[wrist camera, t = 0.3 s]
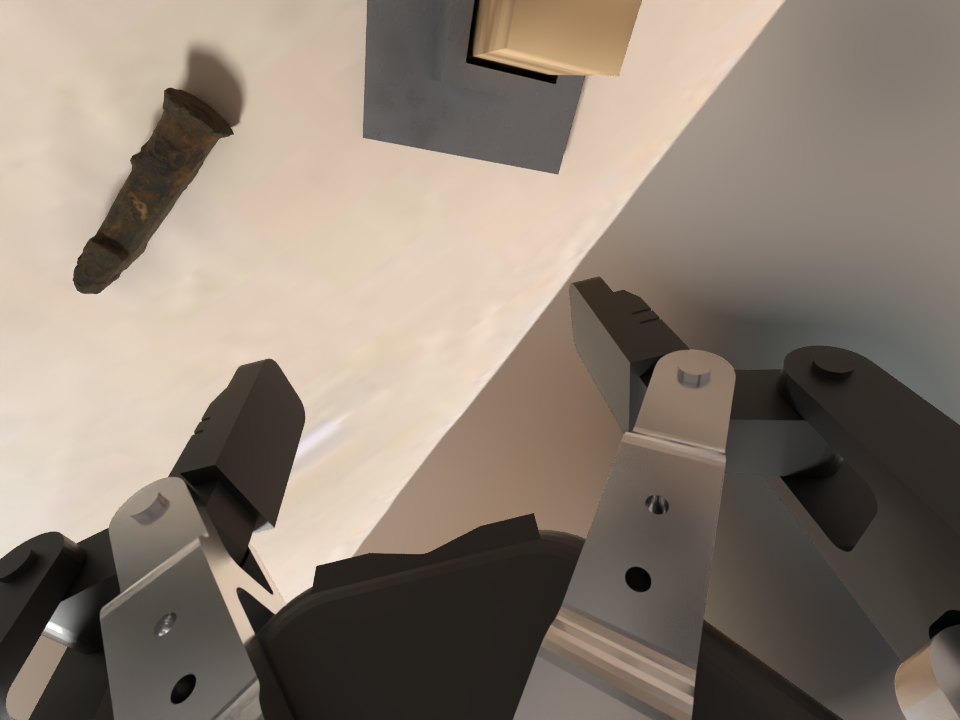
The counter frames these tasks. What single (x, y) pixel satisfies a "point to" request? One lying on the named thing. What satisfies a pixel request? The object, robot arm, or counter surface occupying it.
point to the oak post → (551, 36)
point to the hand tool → (150, 188)
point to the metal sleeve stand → (458, 90)
